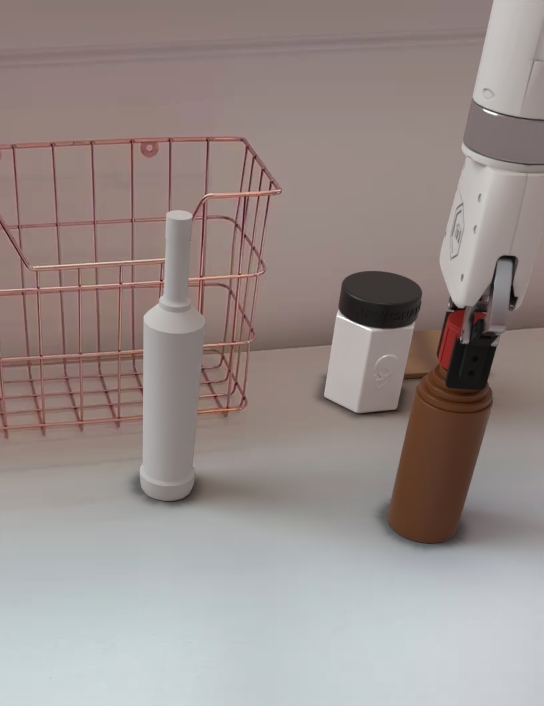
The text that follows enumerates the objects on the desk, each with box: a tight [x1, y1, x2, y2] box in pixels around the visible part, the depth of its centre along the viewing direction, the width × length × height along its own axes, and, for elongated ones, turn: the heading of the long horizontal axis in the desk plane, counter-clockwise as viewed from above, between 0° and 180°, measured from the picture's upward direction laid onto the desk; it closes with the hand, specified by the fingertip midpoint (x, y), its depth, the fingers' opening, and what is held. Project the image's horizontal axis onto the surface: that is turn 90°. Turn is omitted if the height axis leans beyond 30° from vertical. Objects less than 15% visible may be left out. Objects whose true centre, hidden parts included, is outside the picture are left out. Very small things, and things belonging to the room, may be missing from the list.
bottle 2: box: [386, 364, 494, 544], centre depth 88 cm, size 6×6×19 cm
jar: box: [323, 270, 423, 414], centre depth 107 cm, size 9×8×12 cm
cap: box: [438, 310, 487, 370], centre depth 82 cm, size 4×4×4 cm
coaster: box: [403, 328, 442, 380], centre depth 118 cm, size 10×10×1 cm
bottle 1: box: [139, 209, 207, 502], centre depth 88 cm, size 5×5×25 cm
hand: (460, 371), depth 84 cm, fingers open, 4 cm apart
